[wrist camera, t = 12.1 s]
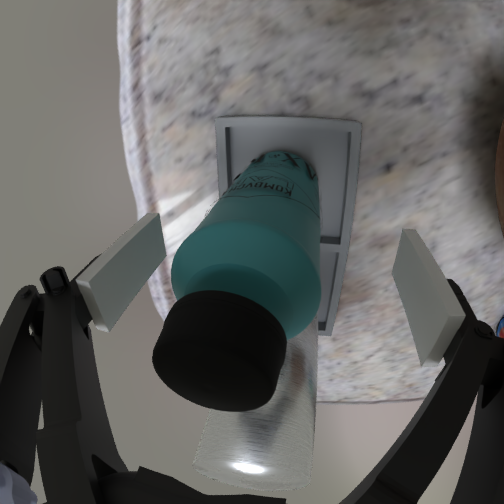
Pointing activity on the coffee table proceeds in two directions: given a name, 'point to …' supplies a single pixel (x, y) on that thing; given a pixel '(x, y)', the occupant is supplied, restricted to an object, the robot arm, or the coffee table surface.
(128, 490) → the robot arm
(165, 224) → the coffee table surface
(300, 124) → the tray
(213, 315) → the beverage bottle
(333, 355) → the coffee table surface
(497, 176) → the jug
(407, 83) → the coffee table surface
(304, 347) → the canister
